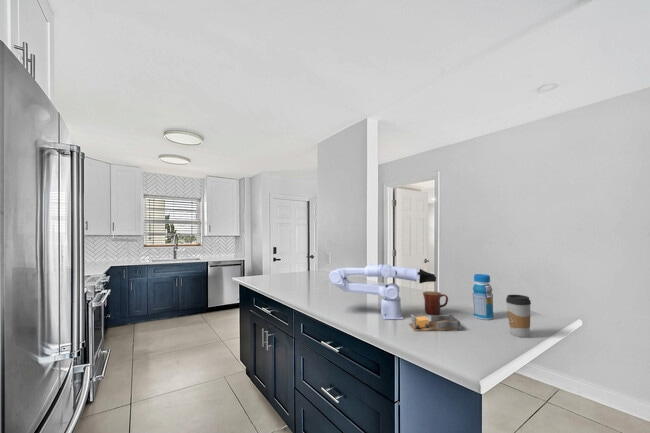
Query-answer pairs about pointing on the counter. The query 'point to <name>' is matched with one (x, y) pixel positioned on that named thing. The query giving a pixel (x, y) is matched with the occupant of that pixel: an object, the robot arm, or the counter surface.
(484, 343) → the counter surface
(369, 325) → the counter surface
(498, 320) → the counter surface
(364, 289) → the robot arm
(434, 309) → the mug
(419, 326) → the orange block with knobs
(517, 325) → the coffee cup
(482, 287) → the beverage bottle
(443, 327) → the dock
